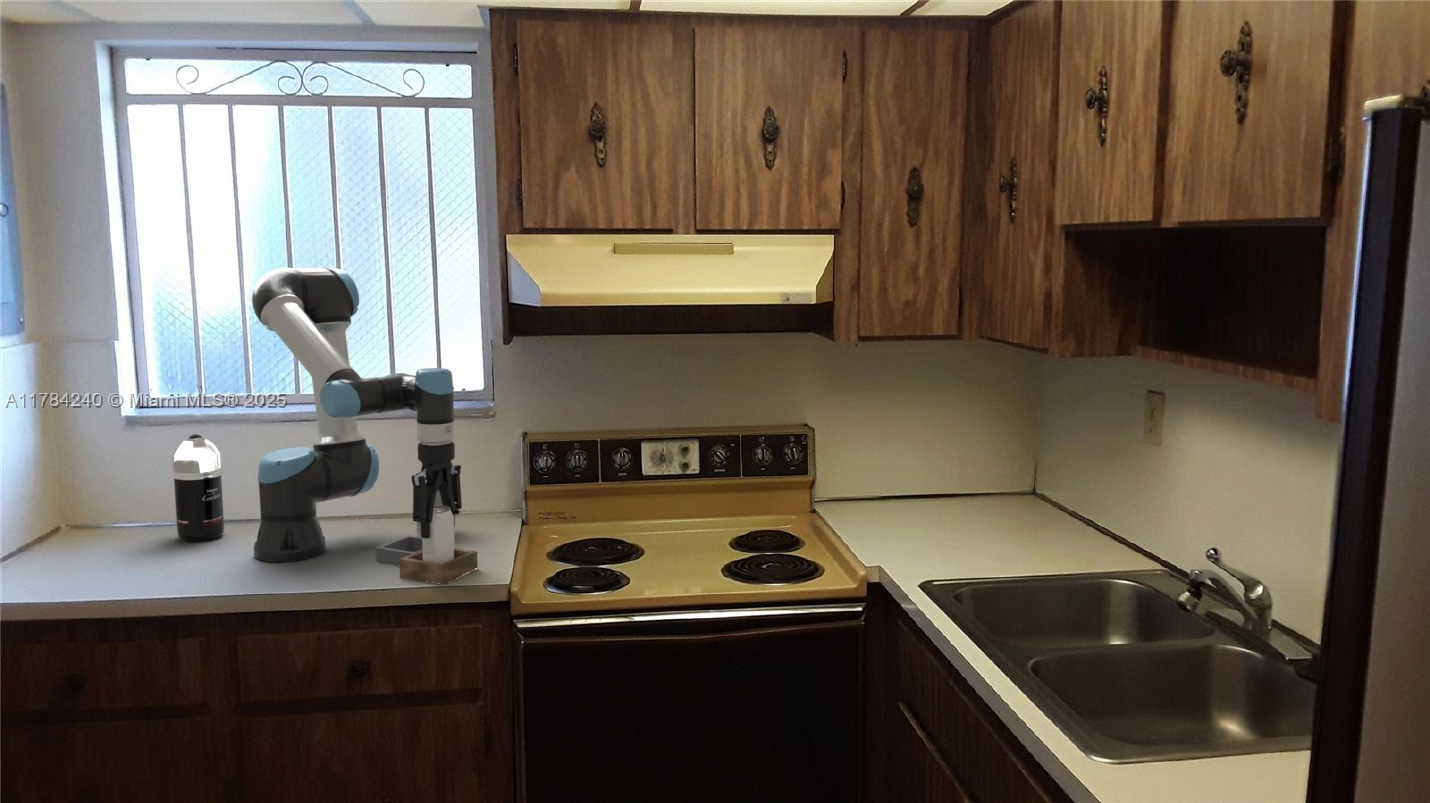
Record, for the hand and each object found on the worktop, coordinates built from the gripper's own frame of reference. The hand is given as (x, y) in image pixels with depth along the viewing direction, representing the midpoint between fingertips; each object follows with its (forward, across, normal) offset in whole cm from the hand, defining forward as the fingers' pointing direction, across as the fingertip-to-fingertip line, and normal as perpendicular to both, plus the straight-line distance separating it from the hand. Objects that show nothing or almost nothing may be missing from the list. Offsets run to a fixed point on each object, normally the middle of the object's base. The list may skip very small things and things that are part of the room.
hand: (438, 547), depth 212 cm
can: (+4, 0, 0) cm, 4 cm away
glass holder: (+6, +26, +23) cm, 35 cm away
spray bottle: (+6, -2, +68) cm, 68 cm away
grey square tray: (+6, +6, +13) cm, 15 cm away
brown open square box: (+6, 0, 0) cm, 6 cm away
